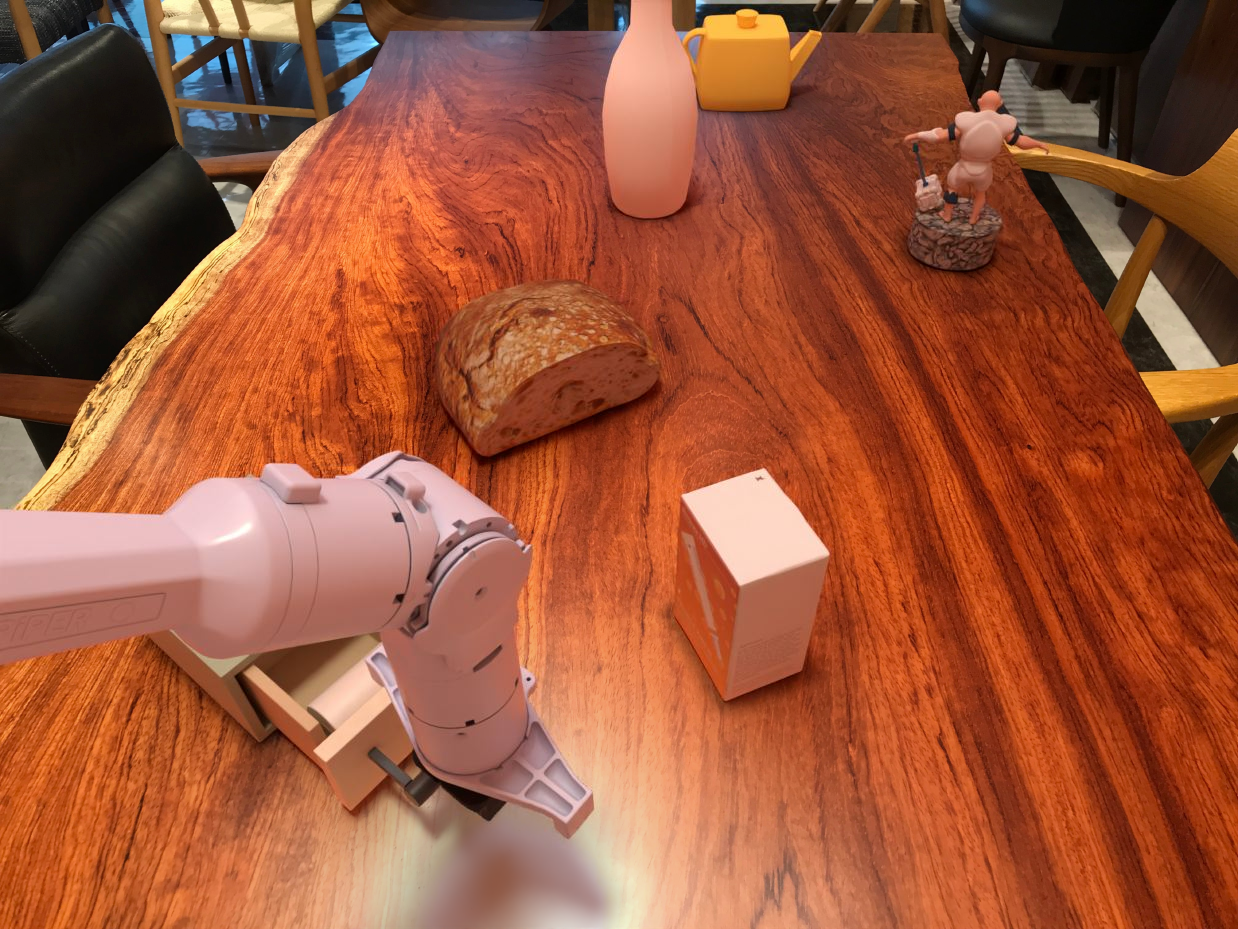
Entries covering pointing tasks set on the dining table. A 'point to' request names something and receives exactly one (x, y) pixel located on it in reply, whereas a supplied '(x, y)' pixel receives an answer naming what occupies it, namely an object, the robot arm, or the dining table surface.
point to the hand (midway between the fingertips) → (492, 802)
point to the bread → (539, 361)
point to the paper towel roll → (344, 696)
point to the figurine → (950, 223)
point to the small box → (747, 581)
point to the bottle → (650, 115)
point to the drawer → (359, 743)
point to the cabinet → (218, 679)
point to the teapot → (746, 61)
